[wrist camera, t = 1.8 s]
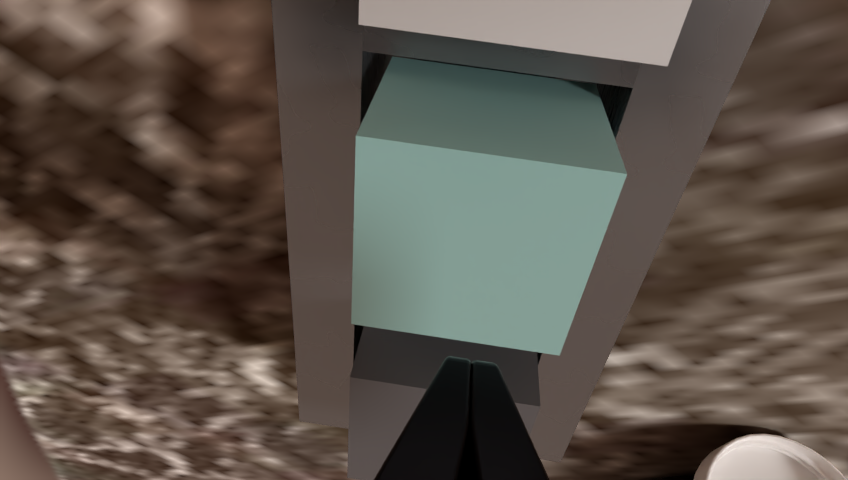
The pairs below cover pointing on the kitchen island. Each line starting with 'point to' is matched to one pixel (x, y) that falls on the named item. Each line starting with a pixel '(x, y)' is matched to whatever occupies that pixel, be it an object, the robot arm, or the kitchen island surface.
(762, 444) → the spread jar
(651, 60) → the key grey
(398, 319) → the key teal
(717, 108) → the key panel
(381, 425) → the key black
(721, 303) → the kitchen island surface
